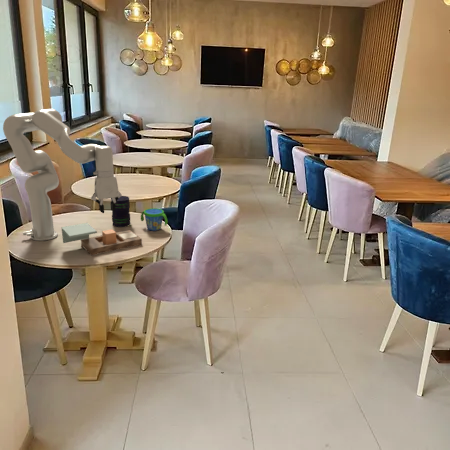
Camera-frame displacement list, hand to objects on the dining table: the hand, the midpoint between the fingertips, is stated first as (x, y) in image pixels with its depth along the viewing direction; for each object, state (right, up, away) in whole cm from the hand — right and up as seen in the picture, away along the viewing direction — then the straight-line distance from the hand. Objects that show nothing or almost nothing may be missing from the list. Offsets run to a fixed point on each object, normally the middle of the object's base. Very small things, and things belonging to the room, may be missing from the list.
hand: (107, 211), depth 193 cm
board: (0, -16, +6) cm, 17 cm away
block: (-1, -15, +6) cm, 16 cm away
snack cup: (+17, -9, +29) cm, 35 cm away
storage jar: (-2, -6, +34) cm, 35 cm away
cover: (-12, -16, -3) cm, 20 cm away
